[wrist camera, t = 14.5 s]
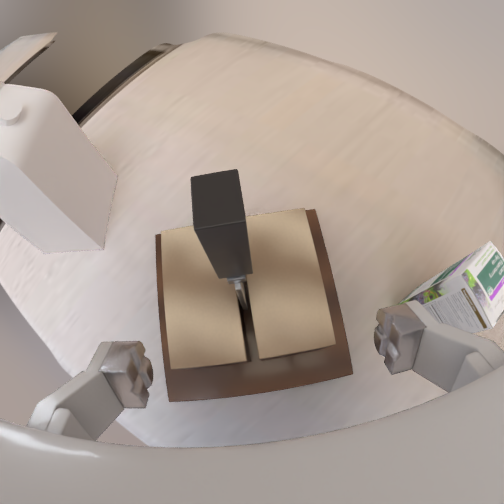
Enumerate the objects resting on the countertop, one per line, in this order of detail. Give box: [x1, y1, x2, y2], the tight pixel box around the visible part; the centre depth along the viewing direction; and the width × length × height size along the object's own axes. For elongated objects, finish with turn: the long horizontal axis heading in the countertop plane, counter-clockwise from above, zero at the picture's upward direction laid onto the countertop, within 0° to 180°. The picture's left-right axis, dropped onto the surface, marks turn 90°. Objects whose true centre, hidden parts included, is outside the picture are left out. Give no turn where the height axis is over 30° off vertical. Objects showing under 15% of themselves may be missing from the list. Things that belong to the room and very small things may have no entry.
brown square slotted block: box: [156, 208, 353, 402], centre depth 29 cm, size 20×20×8 cm
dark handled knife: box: [191, 169, 253, 310], centre depth 19 cm, size 4×2×15 cm, turn 9°
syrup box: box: [398, 241, 504, 333], centre depth 24 cm, size 6×6×14 cm
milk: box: [0, 81, 118, 254], centre depth 26 cm, size 12×12×26 cm
